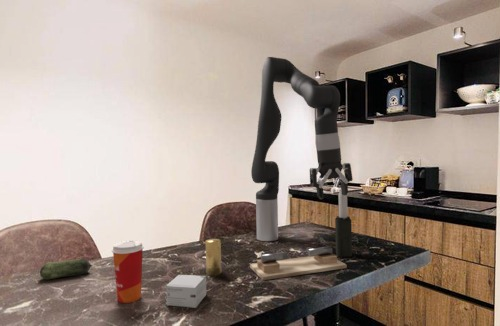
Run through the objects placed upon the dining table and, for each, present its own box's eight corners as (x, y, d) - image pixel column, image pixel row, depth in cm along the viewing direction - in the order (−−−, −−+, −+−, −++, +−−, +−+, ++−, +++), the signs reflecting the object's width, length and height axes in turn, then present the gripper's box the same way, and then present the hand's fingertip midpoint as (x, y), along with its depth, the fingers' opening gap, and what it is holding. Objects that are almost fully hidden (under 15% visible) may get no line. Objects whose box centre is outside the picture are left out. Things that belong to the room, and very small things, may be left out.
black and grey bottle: (349, 252, 118) (348, 183, 118) (352, 256, 113) (351, 184, 112) (335, 252, 119) (334, 183, 118) (337, 256, 114) (336, 185, 113)
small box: (165, 306, 79) (165, 285, 79) (179, 292, 87) (178, 273, 87) (196, 308, 77) (195, 287, 77) (207, 294, 85) (206, 275, 85)
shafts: (260, 261, 101) (260, 253, 101) (328, 252, 108) (328, 245, 108) (263, 263, 99) (263, 256, 99) (332, 254, 106) (332, 247, 106)
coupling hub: (205, 271, 102) (204, 239, 102) (219, 269, 103) (218, 238, 103) (207, 276, 97) (207, 243, 97) (222, 274, 99) (222, 241, 99)
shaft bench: (249, 267, 105) (249, 257, 105) (326, 256, 114) (326, 248, 114) (262, 280, 94) (262, 269, 93) (346, 267, 102) (346, 258, 102)
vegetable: (38, 283, 95) (38, 266, 95) (41, 277, 100) (41, 261, 100) (91, 275, 101) (91, 259, 101) (92, 270, 106) (91, 254, 106)
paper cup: (118, 292, 87) (117, 240, 87) (148, 291, 88) (146, 239, 87) (108, 306, 79) (106, 249, 79) (140, 304, 80) (139, 247, 80)
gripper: (341, 145, 111) (345, 192, 113) (303, 150, 108) (308, 198, 109) (354, 145, 104) (358, 195, 105) (313, 150, 100) (319, 202, 102)
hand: (333, 197), depth 107 cm, fingers open, 8 cm apart
